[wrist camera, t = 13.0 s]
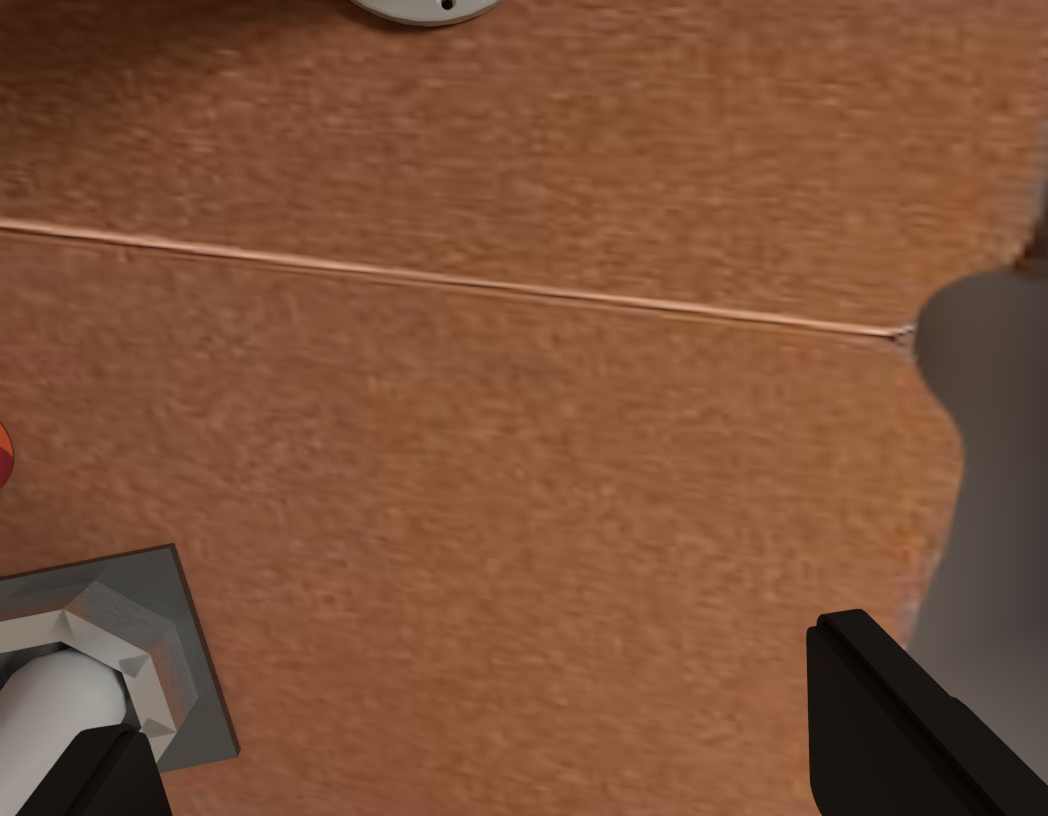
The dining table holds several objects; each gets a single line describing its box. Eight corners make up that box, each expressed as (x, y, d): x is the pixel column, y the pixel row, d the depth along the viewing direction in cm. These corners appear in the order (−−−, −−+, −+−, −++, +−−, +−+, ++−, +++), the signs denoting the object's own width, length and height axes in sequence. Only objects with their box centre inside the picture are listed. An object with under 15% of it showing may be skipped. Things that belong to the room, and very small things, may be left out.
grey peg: (147, 724, 40) (-3, 949, 27) (38, 725, 39) (-166, 954, 27) (140, 628, 38) (-22, 818, 26) (27, 628, 38) (-194, 821, 25)
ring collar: (-72, 591, 38) (-128, 627, 34) (174, 542, 38) (144, 573, 35) (13, 796, 41) (-30, 848, 37) (240, 749, 41) (219, 796, 38)
